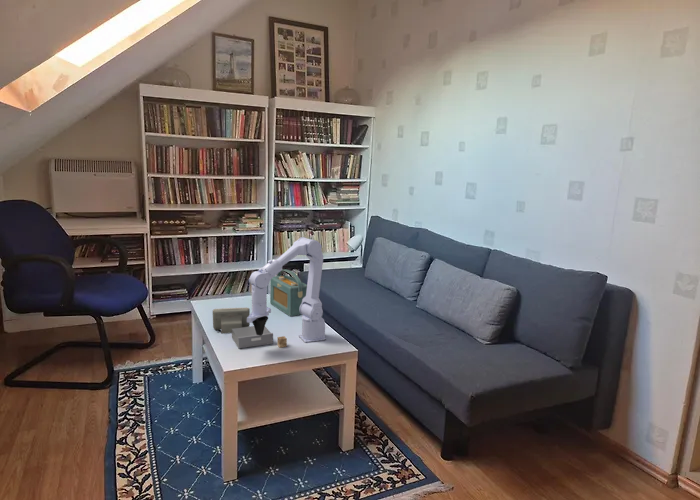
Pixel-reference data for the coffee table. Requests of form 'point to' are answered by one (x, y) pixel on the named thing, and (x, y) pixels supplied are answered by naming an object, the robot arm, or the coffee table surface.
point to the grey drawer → (255, 340)
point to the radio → (287, 293)
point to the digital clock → (230, 319)
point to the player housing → (245, 332)
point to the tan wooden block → (282, 341)
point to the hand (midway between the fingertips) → (259, 334)
